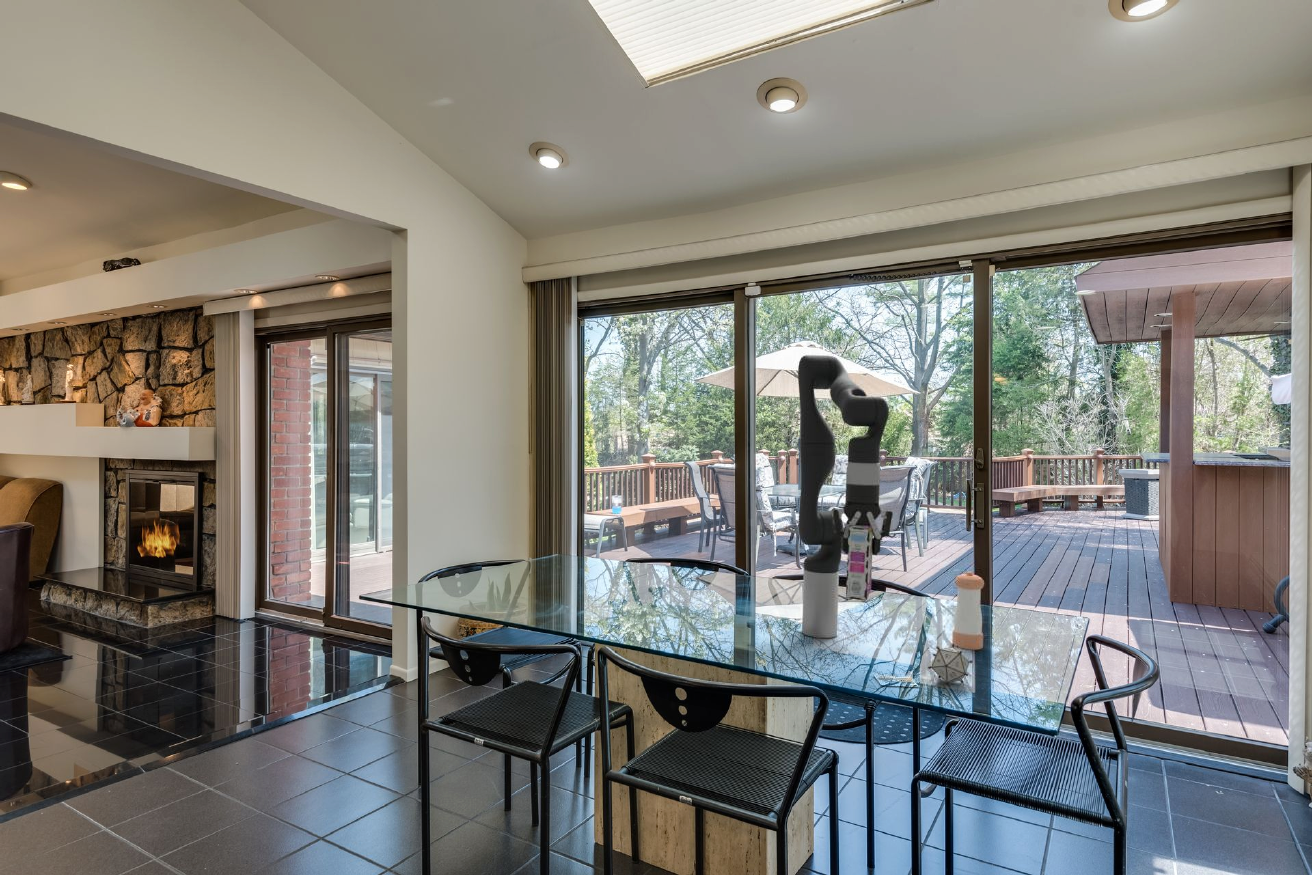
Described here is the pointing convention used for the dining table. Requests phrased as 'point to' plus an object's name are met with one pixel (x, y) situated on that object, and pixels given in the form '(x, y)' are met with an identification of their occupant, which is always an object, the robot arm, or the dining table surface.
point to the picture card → (896, 679)
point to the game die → (950, 665)
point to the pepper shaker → (968, 612)
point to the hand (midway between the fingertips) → (860, 553)
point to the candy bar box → (859, 562)
